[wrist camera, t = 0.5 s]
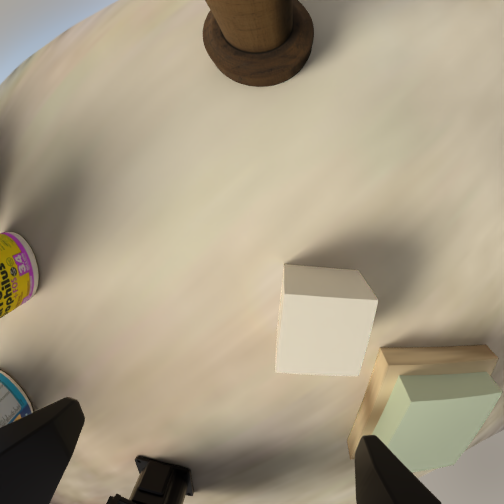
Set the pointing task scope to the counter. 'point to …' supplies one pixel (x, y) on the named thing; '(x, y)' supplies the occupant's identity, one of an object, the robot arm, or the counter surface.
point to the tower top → (435, 417)
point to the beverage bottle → (12, 401)
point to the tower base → (413, 363)
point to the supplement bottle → (16, 272)
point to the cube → (323, 321)
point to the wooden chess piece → (258, 39)
